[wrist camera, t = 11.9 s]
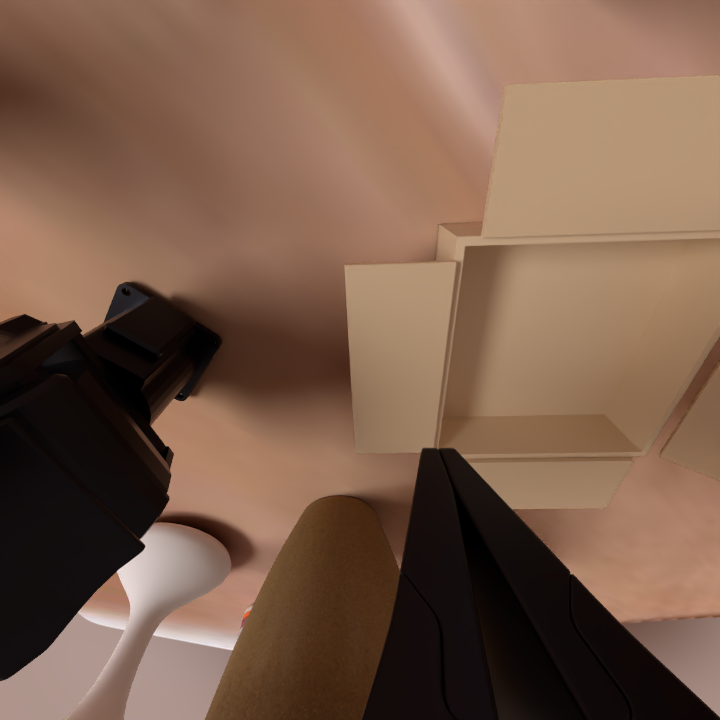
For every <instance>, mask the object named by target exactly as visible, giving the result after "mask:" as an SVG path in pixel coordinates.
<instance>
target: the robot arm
mask: <svg viewBox="0 0 720 720" xmlns="http://www.w3.org/2000/svg"><path fill="white" fill-rule="evenodd" d="M126 288H127V289H128V290H129V291H130V293H131V294H130V293H128V292H127V290H126ZM80 332H82V330H81V329H80V327H79V326H78V325H77V323H76V322H75V321H74V320H73V321H68V322H64V323H60V324H56V323H53V324H48V323H47V322H42V321H39V320H37V319H35V318H33V317H30V316H28V315H26V314H24V315H20V316H15V317H12V318H10V319H7V320H5V321H2V322H0V681H2V680H5V679H8V678H9V677H11V676H12V675H14V674H15V673H17V672H18V671H19V670H20V669H22V668H23V667H24V666H26V665H27V664H28V663H30V662H31V661H33V660H34V659H35V658H37V657H38V656H39V655H41V654H42V653H43V652H44V651H45V650H47V649H48V648H49V646H50V645H51V644H52V643H53V642H54V641H55V639H56V638H57V637H58V636H59V634H60V633H61V632H62V631H63V630H64V628H65V627H66V626H67V625H68V623H69V622H70V621H71V620H72V619H73V617H74V616H75V615H76V614H77V612H78V611H79V610H80V609H81V608H82V606H83V605H84V604H85V603H86V602H87V601H88V600H89V598H90V597H91V596H92V595H93V594H94V593H95V592H96V591H97V590H98V589H99V588H100V587H101V586H102V585H103V584H104V583H105V582H106V581H107V580H108V579H109V578H110V577H111V576H112V575H113V574H114V573H116V572H117V571H118V570H119V569H120V568H121V567H123V566H124V565H125V564H127V563H128V562H129V561H131V560H132V559H133V558H135V557H136V556H137V555H139V554H140V553H141V552H142V551H143V550H144V549H145V544H144V543H143V542H142V541H141V540H140V539H141V538H142V537H143V536H144V535H145V534H146V533H147V531H148V530H149V529H150V528H151V526H152V525H153V524H154V523H155V522H156V520H157V519H158V518H159V517H160V515H161V513H162V512H163V510H164V508H165V507H166V505H167V503H168V501H169V496H168V494H167V491H168V488H169V483H170V479H171V472H170V467H171V463H172V459H173V456H174V453H173V452H172V450H171V449H170V448H169V447H168V446H165V444H164V443H163V442H162V440H161V439H160V438H159V436H158V435H157V434H156V433H155V431H154V430H153V429H152V427H151V425H152V424H153V422H154V421H155V420H156V419H157V418H158V416H159V415H160V414H161V413H162V412H163V410H164V409H165V408H166V407H167V406H168V405H169V403H170V402H171V401H172V400H173V399H176V400H179V401H184V400H186V399H187V398H188V396H189V395H190V393H191V392H192V390H193V388H194V387H195V385H196V384H197V382H198V380H199V379H200V377H201V376H202V374H203V373H204V371H205V369H206V368H207V366H208V365H209V363H210V361H211V360H212V358H213V357H214V355H215V354H216V352H217V350H218V349H219V347H220V346H221V344H222V339H221V337H220V336H219V335H217V334H216V333H214V332H212V331H211V330H209V329H207V328H206V327H204V326H202V325H201V324H199V323H197V322H196V321H194V320H193V319H192V318H190V317H189V316H187V315H185V314H184V313H182V312H180V311H179V310H177V309H175V308H174V307H172V306H170V305H169V304H167V303H165V302H164V301H162V300H160V299H159V298H157V297H154V296H153V295H151V294H149V293H148V292H146V291H144V290H143V289H141V288H139V287H138V286H136V285H134V284H133V283H130V282H125V283H122V284H120V285H119V286H118V287H117V290H116V292H115V295H114V297H113V300H112V302H111V305H110V307H109V310H108V313H107V315H106V318H105V320H104V323H103V324H101V325H99V326H98V327H96V328H94V329H92V330H91V331H89V332H87V333H85V334H84V335H82V334H81V333H80ZM210 339H212V340H214V341H215V342H216V343H212V342H211V340H210ZM180 393H181V394H182V395H181V394H180ZM361 720H720V717H719V716H718V715H717V714H716V713H715V712H714V711H712V710H711V709H710V708H709V707H708V706H707V705H706V704H705V703H704V702H703V701H702V700H701V699H700V698H699V697H698V696H696V695H695V694H694V693H693V692H692V691H691V690H690V689H689V688H688V687H687V686H686V685H685V684H684V683H682V682H681V681H680V680H679V679H678V678H677V677H676V676H675V675H674V674H673V673H672V672H671V671H670V670H669V669H668V668H666V667H665V666H664V665H663V664H662V663H661V662H660V661H659V660H658V659H657V658H656V657H655V656H654V655H653V654H652V653H651V652H650V651H648V649H647V648H645V647H644V646H643V645H642V644H641V643H640V642H639V641H638V640H637V639H636V638H635V637H634V636H633V635H632V634H631V633H630V632H629V631H628V630H627V629H626V628H625V627H624V626H623V625H622V624H621V623H620V622H619V621H618V620H617V619H616V618H615V617H614V616H613V615H612V614H611V613H610V612H609V611H608V610H607V609H606V608H605V607H604V606H603V605H602V604H601V603H600V602H599V601H598V600H597V599H596V598H595V597H594V596H593V595H592V594H591V593H590V592H589V591H588V589H587V588H586V587H585V586H584V585H583V584H582V583H581V582H580V581H579V580H578V579H577V578H576V577H575V576H574V575H573V574H571V575H570V571H569V569H568V568H567V567H566V566H565V565H564V564H563V563H562V562H561V561H560V560H559V559H558V558H557V557H556V556H555V555H554V553H553V552H552V551H551V550H550V549H549V548H548V547H547V546H546V545H545V544H544V543H543V542H542V541H541V540H540V539H539V538H538V536H537V535H536V534H535V533H534V532H533V531H532V530H531V529H530V528H529V527H528V526H527V525H526V524H525V523H524V522H523V520H522V519H521V518H520V517H519V516H518V515H517V514H516V513H515V512H514V511H513V510H512V509H511V508H510V507H509V506H508V505H507V503H506V502H505V501H504V500H503V499H502V498H501V497H500V496H499V495H498V494H497V493H496V492H495V491H494V490H493V489H492V487H491V486H490V485H489V484H488V483H487V482H486V481H485V480H484V479H483V478H482V477H481V476H480V475H479V474H478V473H477V471H476V470H475V469H474V468H473V467H472V466H471V465H470V464H469V463H468V462H467V461H466V460H465V459H464V458H463V457H462V456H461V454H460V453H459V452H458V451H457V450H456V449H454V448H439V449H437V448H422V450H421V456H420V461H419V467H418V473H417V478H416V484H415V490H414V495H413V501H412V507H411V512H410V518H409V524H408V529H407V535H406V541H405V546H404V552H403V558H402V563H401V569H400V575H399V579H398V585H397V590H396V596H395V600H394V605H393V610H392V615H391V619H390V624H389V627H388V631H387V635H386V638H385V642H384V646H383V649H382V653H381V656H380V660H379V663H378V666H377V670H376V673H375V676H374V679H373V683H372V686H371V689H370V692H369V696H368V699H367V702H366V705H365V709H364V712H363V715H362V718H361Z"/></svg>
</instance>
